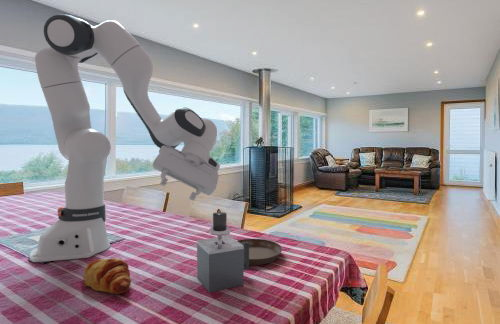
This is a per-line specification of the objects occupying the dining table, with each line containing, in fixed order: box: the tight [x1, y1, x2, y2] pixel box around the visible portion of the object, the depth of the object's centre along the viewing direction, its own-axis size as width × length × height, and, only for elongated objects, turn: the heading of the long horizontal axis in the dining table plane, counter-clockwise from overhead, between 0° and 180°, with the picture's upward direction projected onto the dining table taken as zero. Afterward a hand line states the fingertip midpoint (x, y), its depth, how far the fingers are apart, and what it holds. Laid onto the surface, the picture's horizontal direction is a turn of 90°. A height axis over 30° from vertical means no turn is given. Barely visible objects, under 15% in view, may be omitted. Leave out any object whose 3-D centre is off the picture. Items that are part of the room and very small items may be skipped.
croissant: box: [83, 257, 132, 295], centre depth 80 cm, size 21×10×8 cm, turn 47°
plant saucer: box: [236, 238, 283, 266], centre depth 100 cm, size 18×18×3 cm
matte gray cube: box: [196, 235, 250, 294], centre depth 82 cm, size 12×9×10 cm
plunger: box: [208, 211, 231, 245], centre depth 81 cm, size 5×5×15 cm
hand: (177, 191), depth 94 cm, fingers open, 8 cm apart
